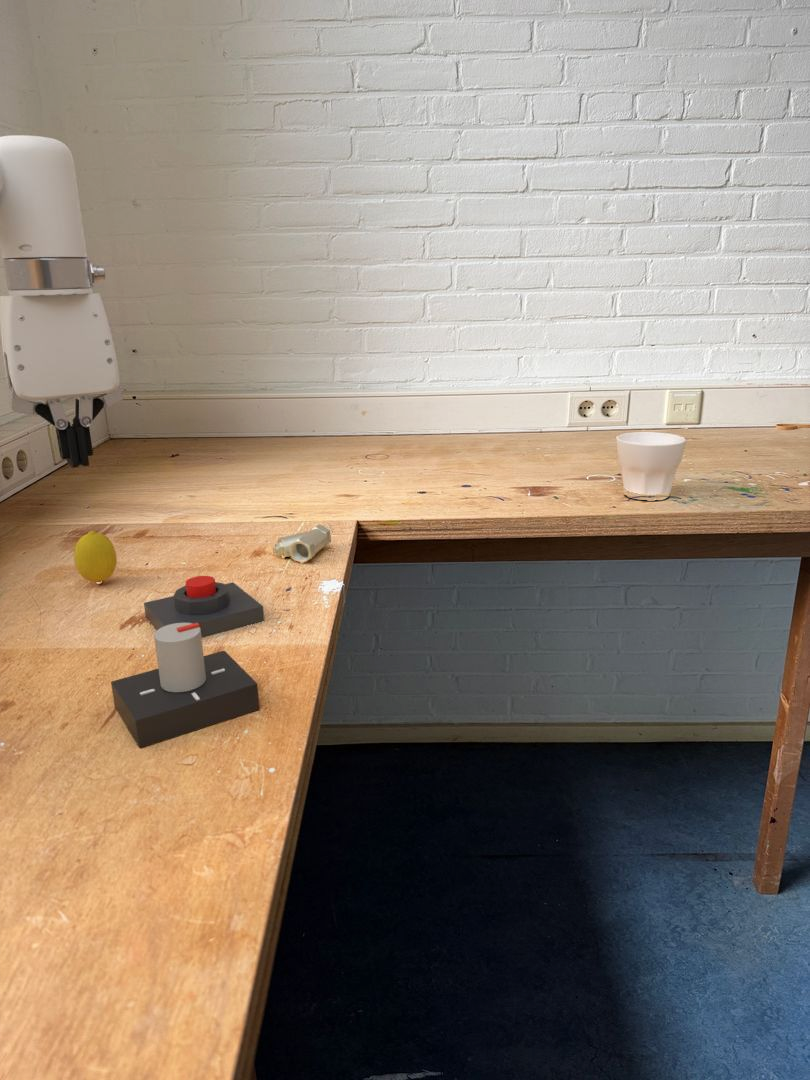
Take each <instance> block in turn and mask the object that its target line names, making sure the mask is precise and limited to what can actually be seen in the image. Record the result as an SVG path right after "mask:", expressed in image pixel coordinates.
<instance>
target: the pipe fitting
mask: <svg viewBox="0 0 810 1080" xmlns="http://www.w3.org/2000/svg"><path fill="white" fill-rule="evenodd" d="M331 534H332V533H331V531H330V529H328V528H327V527H325V526H324V525H323V524H317V525H316V526H314V527H313V528H311V529H310V530H307V531H303V532H300V533H294V534H290V535H287V536H282V537H278V539H277V543H275V544H274V546H273V547H272V551H273V553H274V554H276V555H277V556H281V555H283V556H284V557H290V556H291V557H290V559H291V560H293V561H294V562H296V561H301V562H305V563H306V562H308V561H309V560H311V559H312V558H314V557H315V556H316V554H317V553H318V552H319V551H321V550H322V549H324V548H325V547H328V546H329V545H330V544H331V543H332V535H331Z"/></svg>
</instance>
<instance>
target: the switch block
mask: <svg viewBox="0 0 810 1080" xmlns="http://www.w3.org/2000/svg"><path fill="white" fill-rule="evenodd" d="M215 585H216V593H215V594H213V595H211V596H207V597H203V598H192V597H188V596H187V593H186V584H185V585H183V586H181V587H179V588H178V589H176V590H175V591H174V594H173V595H171V596H168V597H163V598H159V599H155V600H149V601H146V602H144V603H143V607H144V614H145V615H144V616H145V619H146V618H147V619H148V620H149V621H150V622H149V621H148V620H147V619H146V620H147V621H148V622H149V623H150V625H151V624H152V625H153V626H154V627H153V626H152V625H151V626H152V627H153V628H154V629H155V630H156V631H157V630H158V629H160V628H162V627H164V626H167V625H170V624H175V623H193V624H194V623H198V624H199V626H200V629H201V638H202V639H203V638H206V637H211V636H214V635H217V634H221V633H225V632H229V631H233V630H236V629H237V630H238V629H240V628H244V626H245V627H248V626H247V625H249V626H252V625H256V624H259V622H260V623H263V622H262V621H264V622H265V615H264V614H265V613H264V605H262V604H261V603H260V602H258V600H256V599H255V598H254V597H252V596H251V595H250V594H248V593H247V592H246V591H245V590H243V589H242V588H241V587H240V586H239V585H237V584H236V583H235V582H234V581H233V582H228V583H223V582H218V581H215ZM255 623H256V624H255ZM251 624H252V625H251Z"/></svg>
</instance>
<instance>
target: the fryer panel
mask: <svg viewBox="0 0 810 1080" xmlns="http://www.w3.org/2000/svg"><path fill="white" fill-rule="evenodd" d="M204 664H205V673H206V681H205V682H204V684H203V685H201V686H200V687H198V688H196V689H194V690H191V691H186V692H177V693H176V692H168V691H166V690H164V689H163V688H162V687H161V684H160V677H159V669H158V668H155V669H152V670H148V671H144V672H140V673H137V674H134V675H130V676H126V677H123V678H119V679H115V680H112V681H110V684H111V692H112V698H113V703H114V704H113V705H114V708H115V710H116V711H117V713H118V715H119V716H120V718H121V720H122V721H123V723H124V725H125V726H126V728H127V730H128V731H129V733H130V735H131V736H132V738H133V740H134V741H135V743H136V744H137V747H138V748H139V749H142V748H145V747H149V746H151V745H155V744H157V743H160V742H163V741H167V740H170V739H173V738H177V737H179V736H182V735H185V734H188V733H192V732H194V731H195V732H196V731H198V730H201V729H204V728H208V727H210V726H213V725H217V724H219V723H223V722H225V721H229V720H232V719H235V718H238V717H242V716H244V715H247V714H250V713H254V712H256V711H259V710H260V698H259V688H258V687H259V686H258V682H257V681H256V680H254V678H253V677H252V676H251V675H250V674H248V672H246V670H245V669H244V668H243V667H241V665H240V664H239V663H237V661H236V660H235V659H233V657H232V656H231V655H230V654H228V652H226V650H220V651H216V652H213V653H209V654H206V655H204Z"/></svg>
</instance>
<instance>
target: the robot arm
mask: <svg viewBox="0 0 810 1080" xmlns="http://www.w3.org/2000/svg"><path fill="white" fill-rule="evenodd" d="M69 148H70V147H68V145H66V144H65V143H64V142H62V141H61V140H58V139H56V138H53V137H46V136H40V135H39V136H38V135H26V134H23V135H22V134H19V135H18V134H15V135H13V134H12V135H2V136H0V251H1V256H2V259H3V260H2V262H3V263H2V264H3V269H4V274H5V280H6V285H7V286H6V287H7V291H8V295H0V338H1V348H2V356H3V357H2V358H3V364H4V371H5V377H6V381H7V385H8V388H9V392H10V400H9V401H10V402H9V408H10V410H11V411H13V412H14V413H18V414H24V415H35V416H40V417H41V418H42V419H44V420H45V421H47V422H48V423H49V424H51V425H52V426H54V427H55V434H56V439H57V440H56V441H57V445H58V446H57V447H58V452H59V456H60V459H61V460H66V463H67V464H68V465H69V466H70V467H71V468H72V469H74V468H79V467H80V466H83V467H89V466H90V460H89V457H91V456H94V452H93V451H94V450H93V444H92V443H93V442H92V437H91V429H90V427H91V426H92V425H93V421H94V420H95V419H96V417H97V416H98V415H99V414H100V412H101V411H102V410H103V409H104V408H108V407H111V406H114V405H116V404H119V403H122V402H123V401H124V394H123V392H122V389H121V387H120V370H119V364H118V359H117V354H116V349H115V344H114V340H113V336H112V332H111V328H110V324H109V320H108V316H107V313H106V310H105V306H104V304H103V300H102V298H101V295H100V292H93V287H94V284H95V282H98V281H105V280H106V270H105V267H104V266H103V265H96V264H93V263H92V262H91V259H90V258H88V251H87V244H86V238H85V230H84V224H83V217H82V216H83V215H82V210H81V202H80V196H79V189H78V182H77V181H78V180H77V176H76V175H77V173H76V166H75V161H74V157H73V153H72V152H71V150H70V149H69ZM70 398H73V399H74V400H73V401H74V403H73V405H74V408H73V409H74V411H73V413H74V415H73V416H74V417H73V418H72V423H71V422H70V421H69V420H68V418H67V416H66V411H65V408H64V406H63V402H62V400H61V399H70ZM42 401H43V402H42Z"/></svg>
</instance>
